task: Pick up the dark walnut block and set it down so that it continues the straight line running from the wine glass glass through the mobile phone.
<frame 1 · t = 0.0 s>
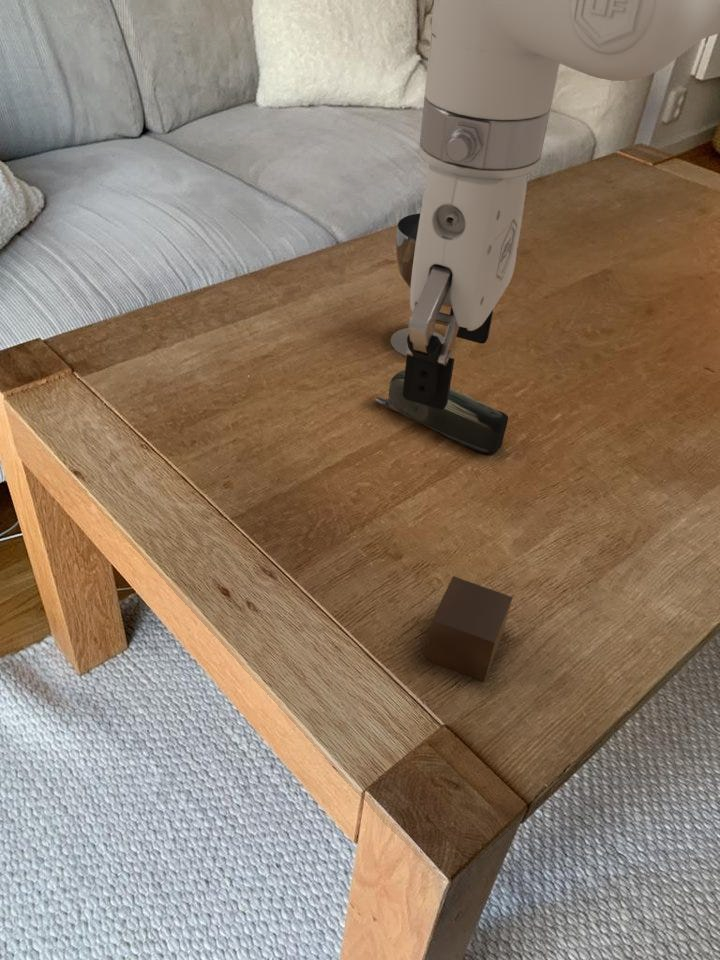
hand: (447, 368, 61), 20 cm above the table, tool pointing down, fingers open, 9 cm apart
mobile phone: (436, 427, 89), on the table
walnut block: (464, 647, 67), on the table
wine glass: (418, 344, 102), on the table
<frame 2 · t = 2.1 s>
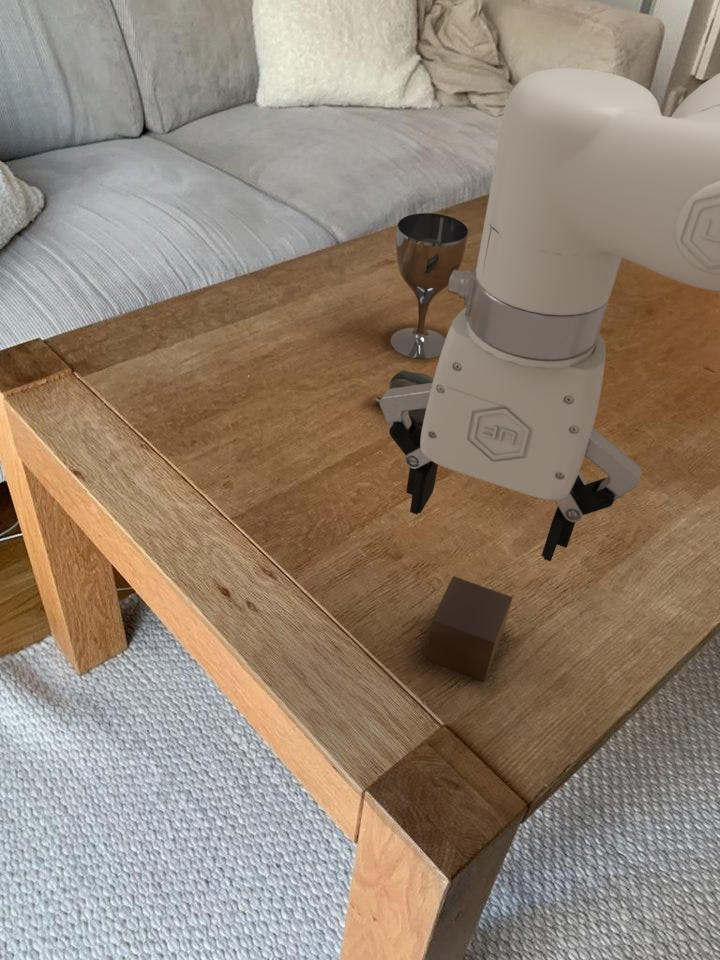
hand: (484, 524, 58), 14 cm above the table, tool pointing down, fingers open, 9 cm apart
nothing on the table moved.
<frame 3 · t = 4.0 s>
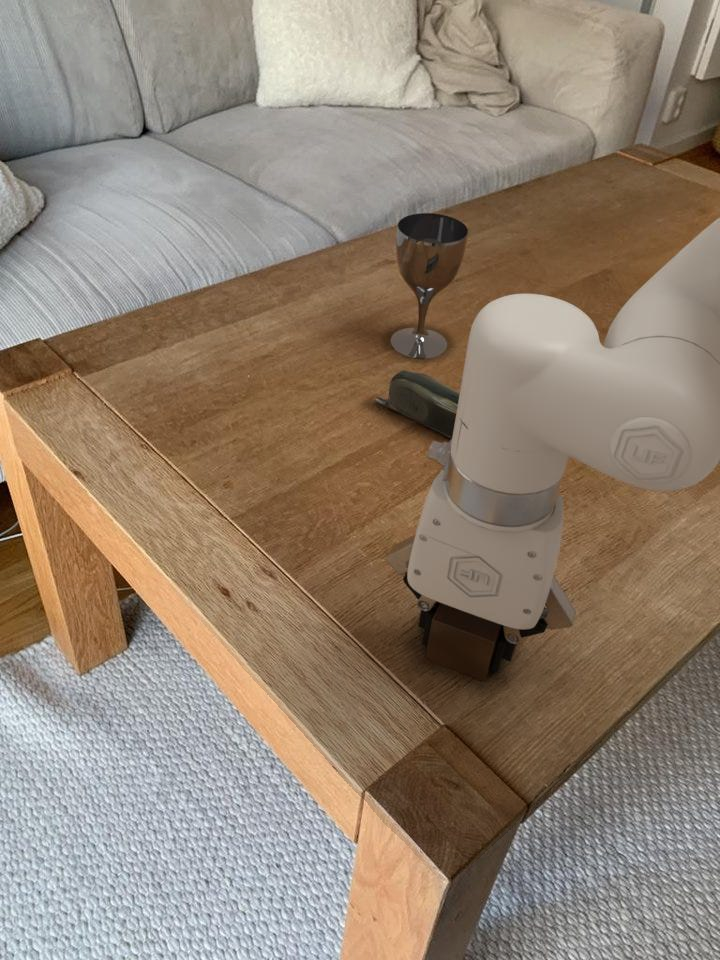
hand: (464, 644, 66), 0 cm above the table, tool pointing down, fingers closed on walnut block, 5 cm apart
walnut block: (464, 647, 67), on the table, touching gripper
everything else where it was.
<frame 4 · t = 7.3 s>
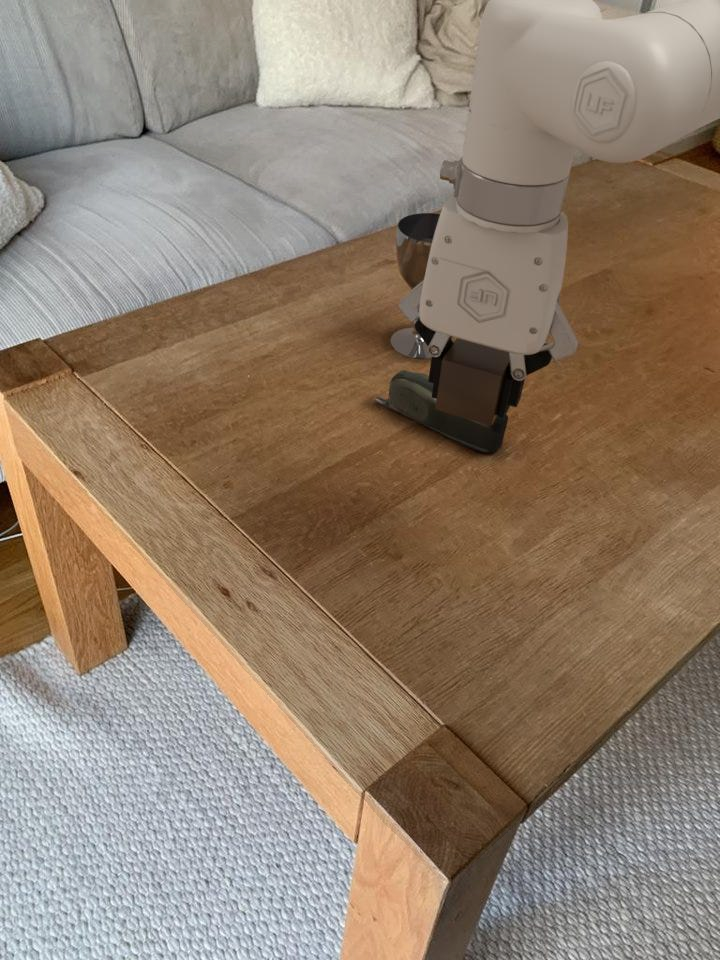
hand: (472, 398, 70), 13 cm above the table, tool pointing down, fingers closed on walnut block, 5 cm apart
walnut block: (471, 402, 70), point 13 cm above the table, touching gripper
everything else where it was.
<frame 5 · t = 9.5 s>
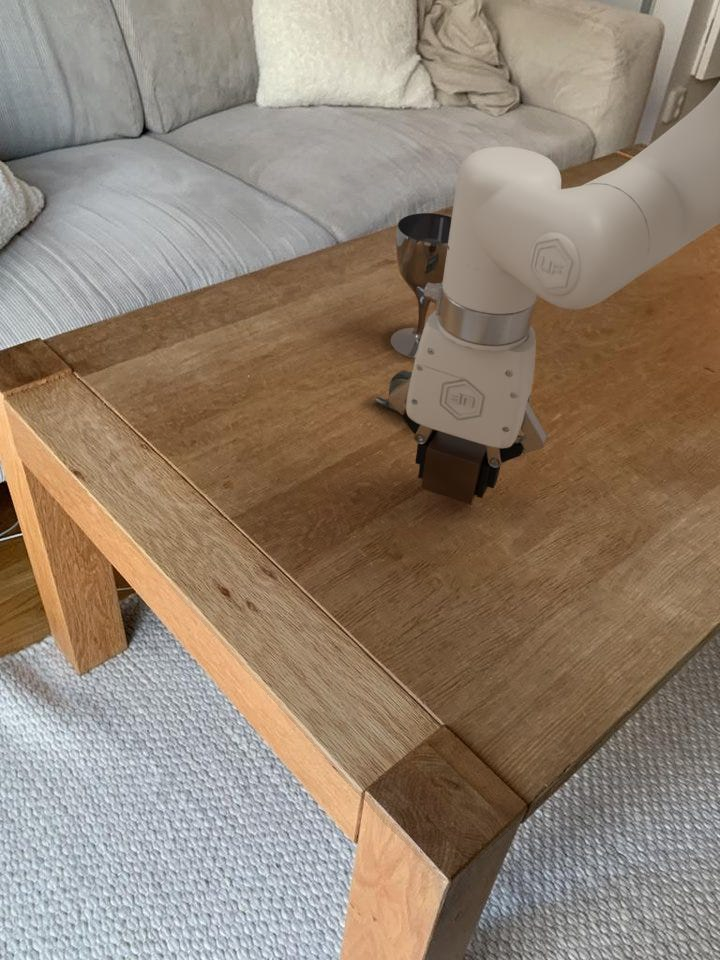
hand: (454, 478, 78), 3 cm above the table, tool pointing down, fingers closed on walnut block, 5 cm apart
walnut block: (454, 481, 78), point 3 cm above the table, touching gripper
everything else where it was.
when the fingers open (0 cm above the table, at t = 10.7 s): walnut block stays where it is, on the table.
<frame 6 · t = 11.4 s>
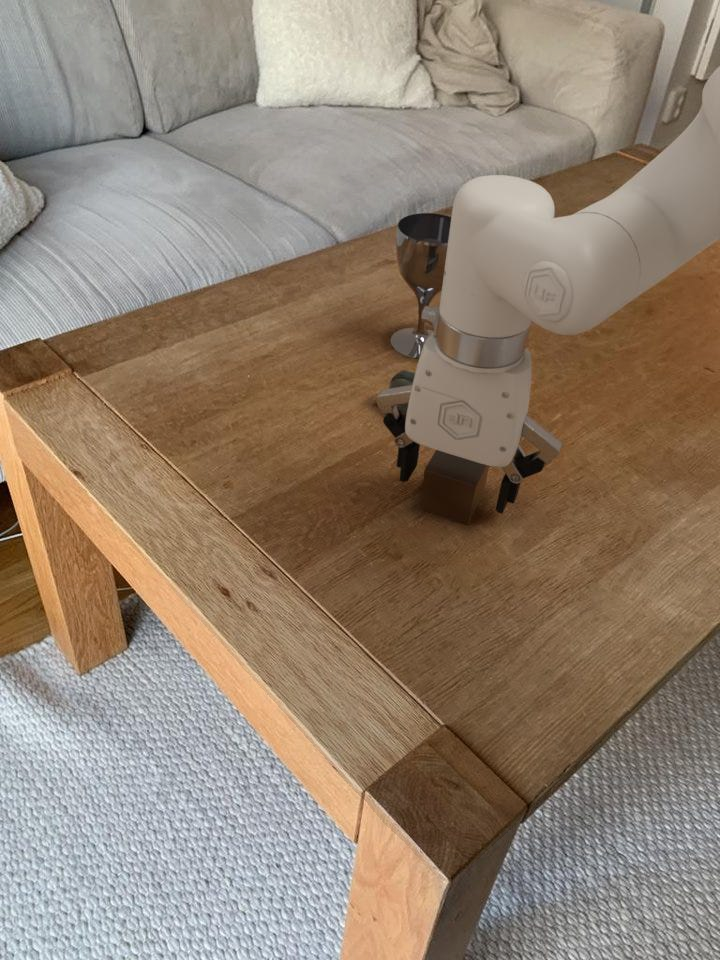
hand: (454, 488, 79), 2 cm above the table, tool pointing down, fingers open, 9 cm apart
walnut block: (451, 501, 80), on the table
everything else where it was.
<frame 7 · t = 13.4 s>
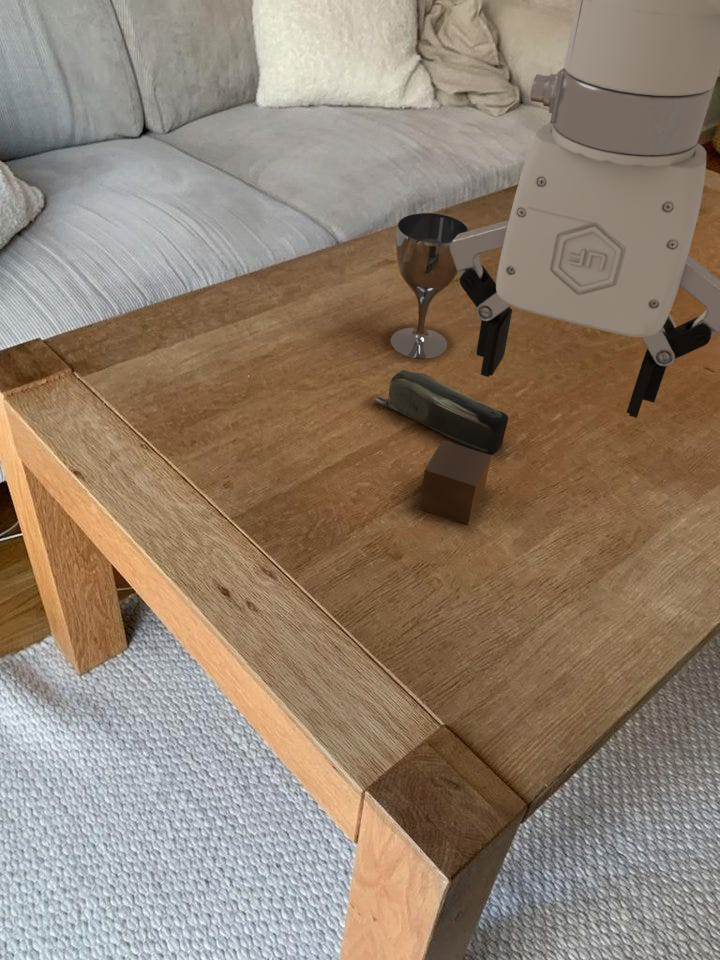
hand: (561, 385, 54), 24 cm above the table, tool pointing down, fingers open, 9 cm apart
nothing on the table moved.
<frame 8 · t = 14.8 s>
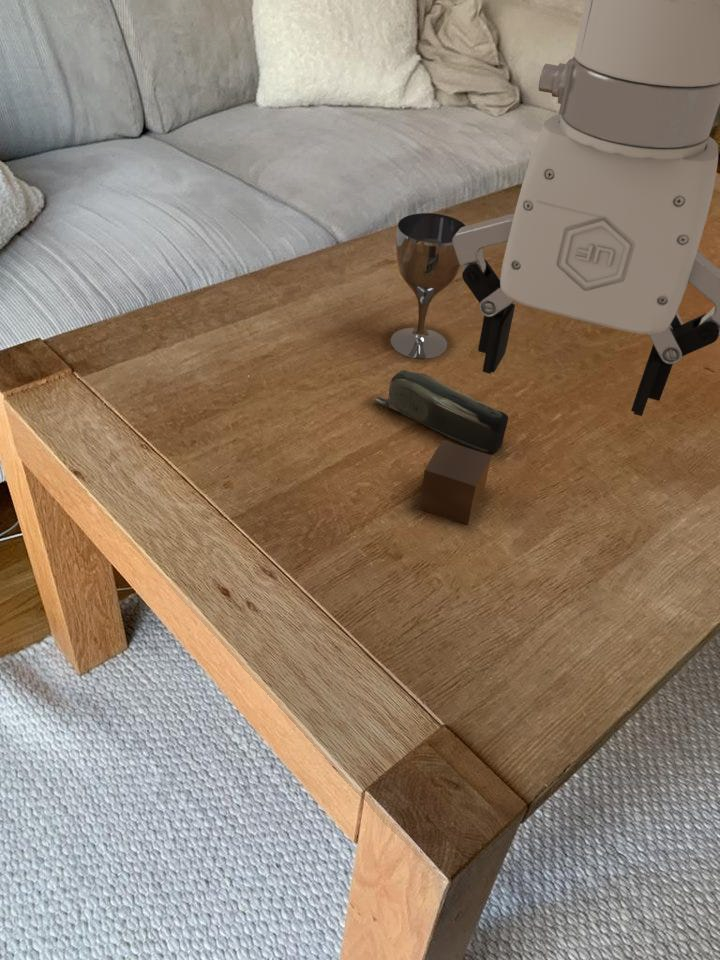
hand: (565, 382, 53), 24 cm above the table, tool pointing down, fingers open, 9 cm apart
nothing on the table moved.
at the end: walnut block 0.1 cm from the target spot on the table beside the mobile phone, on the table; walnut block tilted 0°; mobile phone moved 0.2 cm from its start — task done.
